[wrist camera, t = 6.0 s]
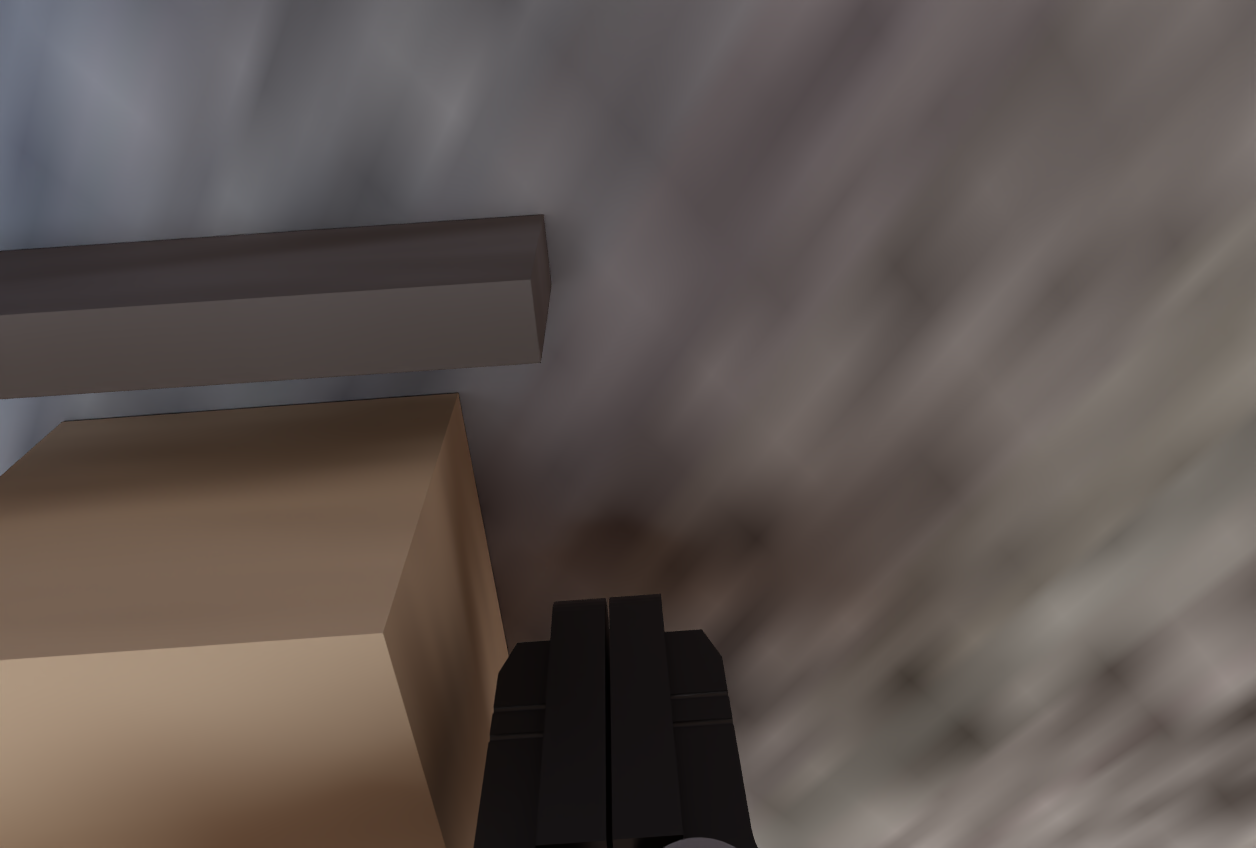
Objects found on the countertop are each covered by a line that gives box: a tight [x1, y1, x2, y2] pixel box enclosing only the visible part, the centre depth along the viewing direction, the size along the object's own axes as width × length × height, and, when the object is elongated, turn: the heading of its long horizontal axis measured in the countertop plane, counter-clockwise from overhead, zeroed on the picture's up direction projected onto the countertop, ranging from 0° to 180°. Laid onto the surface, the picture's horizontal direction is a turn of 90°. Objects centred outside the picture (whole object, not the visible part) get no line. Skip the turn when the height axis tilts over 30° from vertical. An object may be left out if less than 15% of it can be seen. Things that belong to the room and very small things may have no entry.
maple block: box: [0, 393, 509, 848], centre depth 12 cm, size 6×6×5 cm
